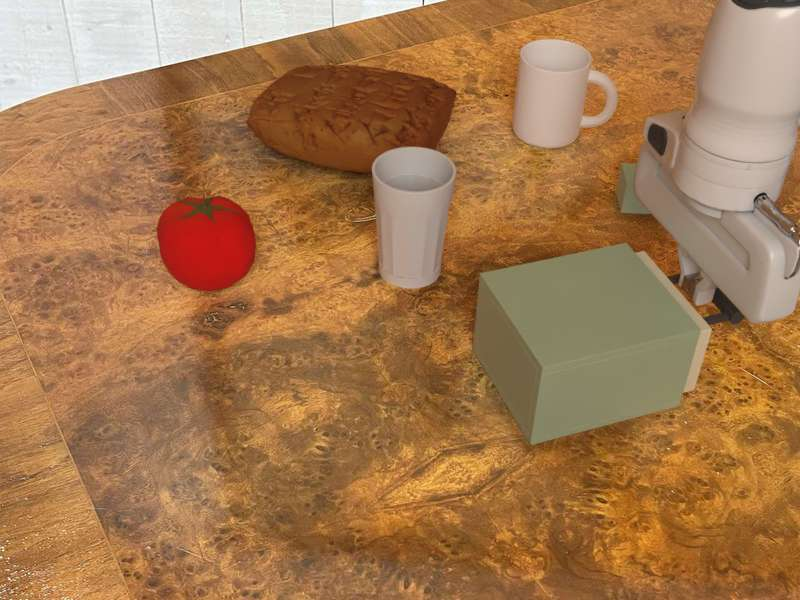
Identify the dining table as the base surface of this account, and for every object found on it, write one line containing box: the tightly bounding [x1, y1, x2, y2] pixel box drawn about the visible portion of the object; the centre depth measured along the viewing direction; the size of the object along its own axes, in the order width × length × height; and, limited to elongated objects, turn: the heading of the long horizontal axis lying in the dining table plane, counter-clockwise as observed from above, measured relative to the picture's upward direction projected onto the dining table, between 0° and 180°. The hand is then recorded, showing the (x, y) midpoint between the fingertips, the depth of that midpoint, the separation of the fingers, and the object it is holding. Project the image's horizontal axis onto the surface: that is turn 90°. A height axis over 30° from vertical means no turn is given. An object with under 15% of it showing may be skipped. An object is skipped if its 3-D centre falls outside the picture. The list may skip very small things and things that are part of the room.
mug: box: [511, 38, 619, 150], centre depth 126 cm, size 12×8×10 cm
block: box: [615, 162, 652, 215], centre depth 117 cm, size 4×4×4 cm
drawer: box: [635, 250, 746, 394], centre depth 95 cm, size 19×11×7 cm, turn 110°
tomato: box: [156, 195, 257, 292], centre depth 104 cm, size 9×10×8 cm
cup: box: [371, 147, 457, 290], centre depth 104 cm, size 8×8×12 cm
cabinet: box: [471, 242, 701, 446], centre depth 94 cm, size 15×13×9 cm
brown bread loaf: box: [246, 64, 458, 174], centre depth 122 cm, size 22×17×8 cm
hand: (694, 295), depth 96 cm, fingers closed
